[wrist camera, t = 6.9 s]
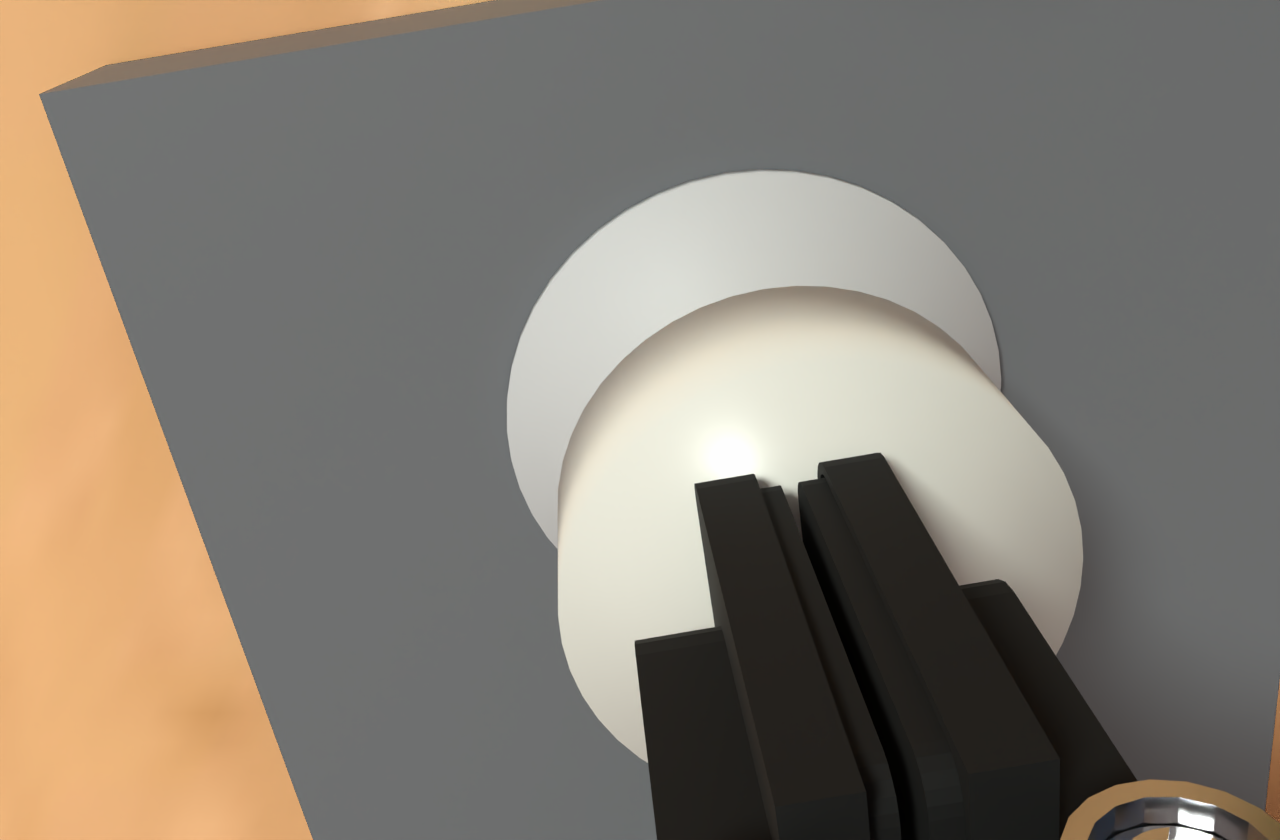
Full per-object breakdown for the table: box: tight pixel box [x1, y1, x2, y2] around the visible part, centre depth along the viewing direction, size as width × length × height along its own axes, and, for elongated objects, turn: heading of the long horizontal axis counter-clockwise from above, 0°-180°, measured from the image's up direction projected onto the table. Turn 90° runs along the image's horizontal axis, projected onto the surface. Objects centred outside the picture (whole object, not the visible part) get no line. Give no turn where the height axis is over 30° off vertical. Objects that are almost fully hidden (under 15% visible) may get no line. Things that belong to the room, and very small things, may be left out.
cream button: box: [558, 286, 1083, 763], centre depth 12 cm, size 5×5×3 cm
